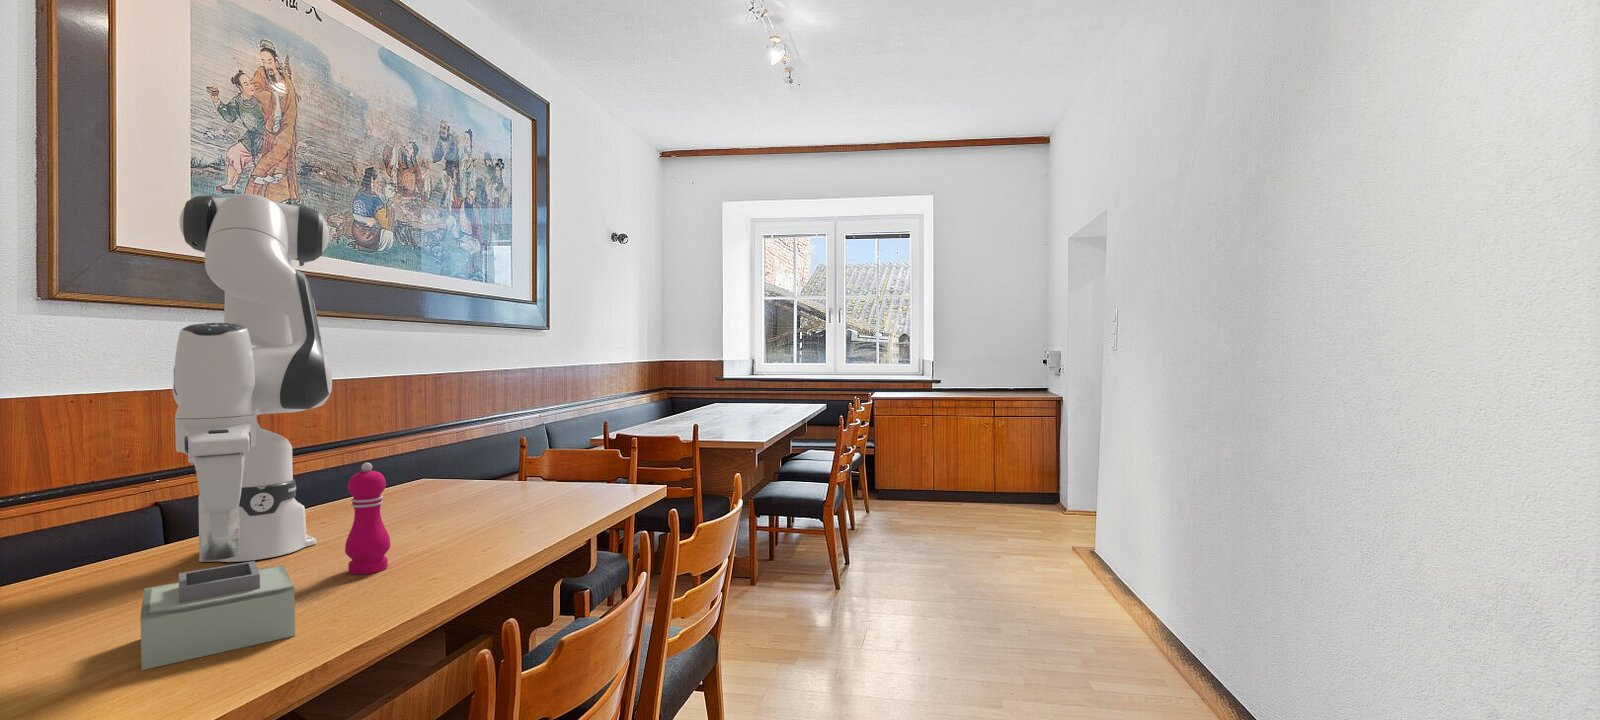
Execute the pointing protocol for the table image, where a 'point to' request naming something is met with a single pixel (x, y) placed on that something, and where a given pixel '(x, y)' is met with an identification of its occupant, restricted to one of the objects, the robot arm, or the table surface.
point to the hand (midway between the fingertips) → (219, 533)
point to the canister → (220, 546)
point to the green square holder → (215, 612)
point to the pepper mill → (367, 524)
